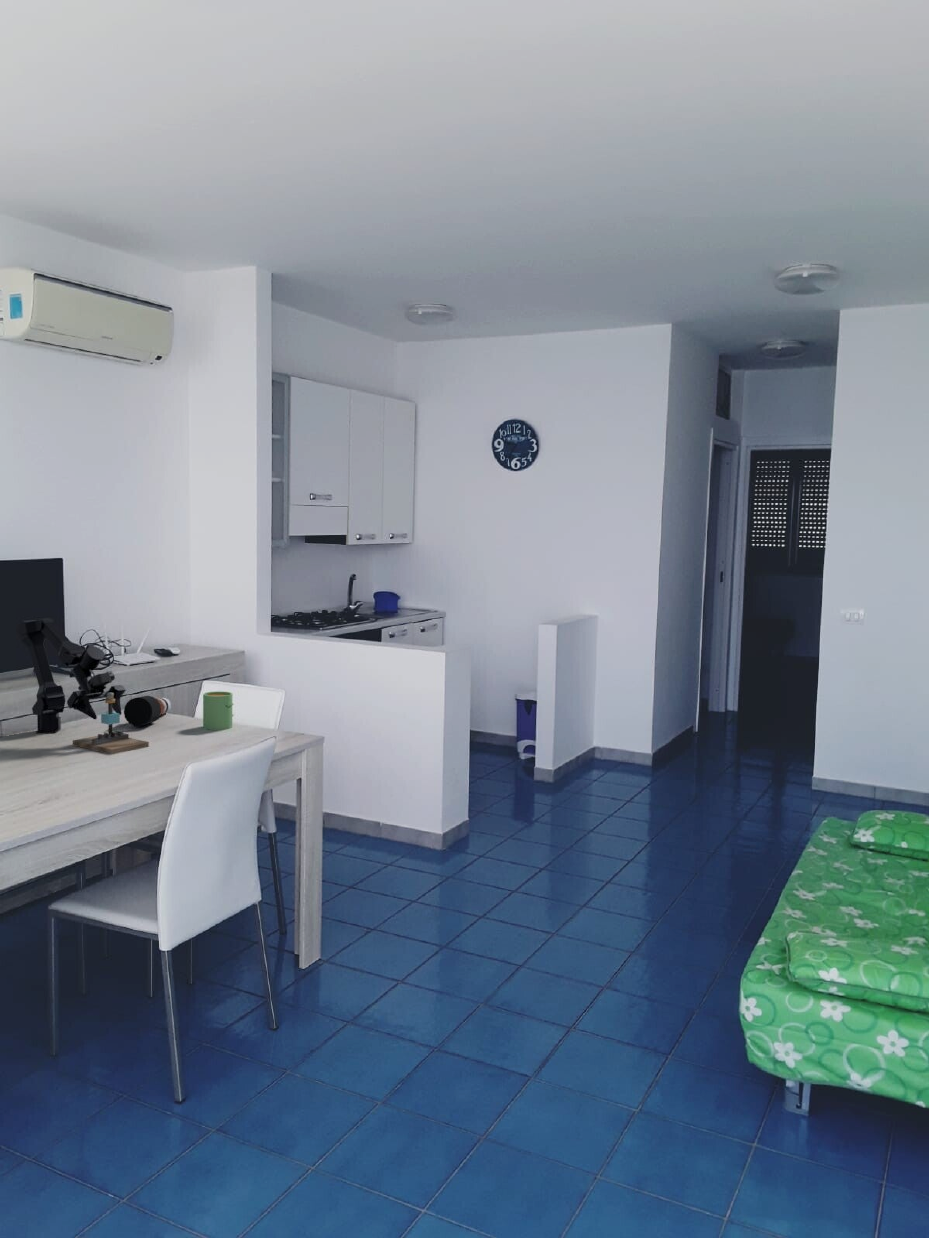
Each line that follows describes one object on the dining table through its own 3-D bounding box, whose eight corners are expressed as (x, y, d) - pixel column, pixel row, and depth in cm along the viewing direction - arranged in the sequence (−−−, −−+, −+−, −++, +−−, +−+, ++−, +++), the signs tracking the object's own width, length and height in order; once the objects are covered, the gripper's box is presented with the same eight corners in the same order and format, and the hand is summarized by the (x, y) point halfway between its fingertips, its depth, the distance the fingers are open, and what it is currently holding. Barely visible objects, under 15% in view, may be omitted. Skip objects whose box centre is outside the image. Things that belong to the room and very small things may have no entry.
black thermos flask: (172, 722, 381) (185, 699, 381) (143, 731, 348) (157, 706, 348) (149, 709, 381) (162, 686, 381) (118, 717, 348) (132, 692, 348)
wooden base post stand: (72, 744, 321) (71, 692, 319) (109, 737, 332) (109, 686, 330) (111, 754, 309) (111, 699, 308) (148, 746, 321) (148, 693, 319)
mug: (229, 730, 348) (229, 696, 347) (199, 729, 348) (199, 695, 347) (238, 723, 361) (238, 690, 360) (209, 722, 361) (209, 689, 360)
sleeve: (101, 722, 319) (101, 713, 319) (111, 721, 323) (111, 711, 322) (109, 724, 317) (108, 715, 317) (119, 722, 321) (119, 713, 320)
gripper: (71, 666, 314) (93, 705, 309) (121, 660, 330) (143, 697, 324) (57, 688, 319) (78, 726, 314) (107, 681, 335) (128, 718, 330)
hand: (108, 716), depth 320 cm, fingers open, 9 cm apart
